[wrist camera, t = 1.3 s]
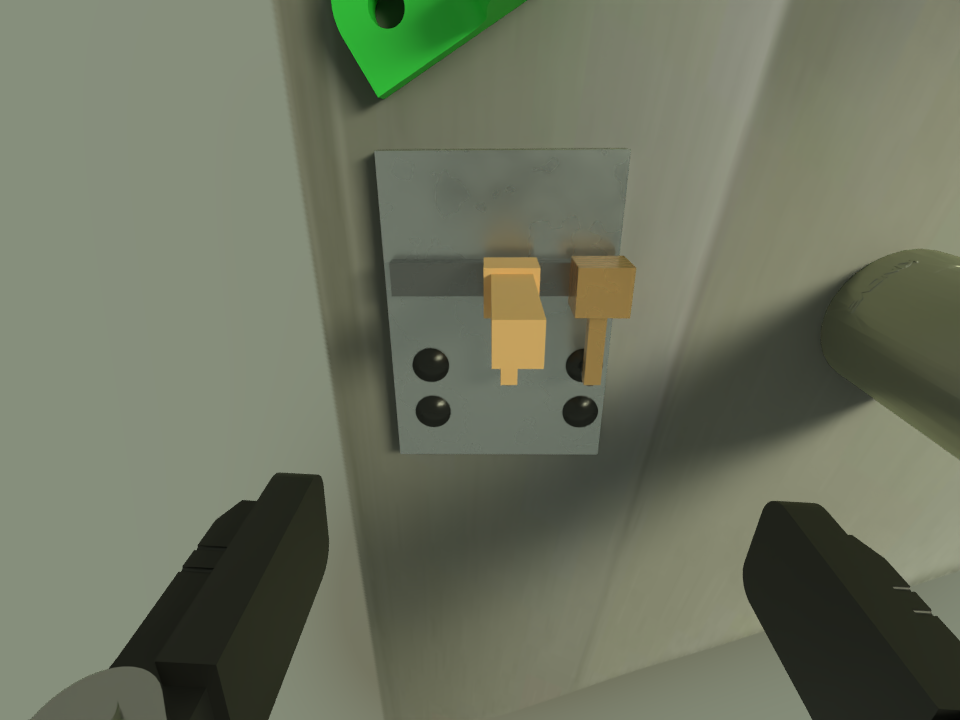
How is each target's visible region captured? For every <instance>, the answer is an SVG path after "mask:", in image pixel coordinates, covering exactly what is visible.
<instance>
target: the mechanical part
mask: <svg viewBox="0 0 960 720" xmlns="http://www.w3.org/2000/svg"><path fill="white" fill-rule="evenodd" d="M378 1H379V0H331V4H332V11H333V15H334V19H335V22H336V25H337V27H338V30H339V32H340V34H341V36H342V38H343V39H344V41H345V43H346V44H347V46H348V48H349V49H350V51H351V53H352V54H353V56H354V58H355V60H356V61H357V63H358V65H359V66H360V68H361V70H362V71H363V73H364V75H365V76H366V78H367V80H368V81H369V83H370V85H371V86H372V88H373V90H374V91H375V93H376V95H377V96H378V98H382V99H385V98H387V97H388V96H390V95H391V94H392V93H394V92H395V91H397V90H398V89H400V88H401V87H403V86H404V85H405V84H407V83H408V82H410V81H411V80H413V79H414V78H416V77H417V76H418V75H420V74H421V73H423V72H424V71H426V70H427V69H429V68H430V67H431V66H433V65H434V64H436V63H437V62H439V61H440V60H442V59H443V58H444V57H446V56H447V55H449V54H450V53H452V52H453V51H455V50H456V49H457V48H459V47H460V46H462V45H463V44H465V43H466V42H468V41H469V40H470V39H472V38H473V37H475V36H476V35H478V34H479V33H481V32H482V31H483V30H485V29H486V28H488V27H489V26H491V25H492V24H494V23H495V22H496V21H498V20H499V19H501V18H502V17H504V16H505V15H507V14H508V13H509V12H511V11H512V10H514V9H515V8H517V7H518V6H520V5H521V4H522V3H524V2H525V1H527V0H404V4H405V12H404V16H403V19H402V21H401V22H400V23H399V24H398V25H397V26H396V27H394V28H391V29H384V28H381V27H379V25H378V23H377V21H376V17H375V9H376V5H377V2H378Z"/></svg>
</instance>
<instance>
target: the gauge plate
mask: <svg viewBox="0 0 960 720" xmlns="http://www.w3.org/2000/svg"><path fill="white" fill-rule="evenodd" d="M630 153H631V149H627V148H587V149H428V150H376V151H374V154H375V165H376V177H377V188H378V200H379V211H380V223H381V234H382V246H383V258H384V269H385V281H386V292H387V304H388V315H389V327H390V339H391V350H392V362H393V373H394V385H395V396H396V408H397V419H398V431H399V443H400V454H590V455H598V446H599V437H600V428H601V419H602V410H603V401H604V391H605V382H606V373H607V364H608V355H609V345H610V336H611V327H612V318H630V314H631V306H632V298H633V289H634V281H635V273H636V267H635V266H634V265H633V264H632V263H631V262H630V261H629V260H628V259H627V258H625V257H624V256H619V254H620V244H621V235H622V226H623V217H624V208H625V198H626V189H627V180H628V171H629V162H630ZM484 257H537V260H538V262H539V265H540V268H541V270H540V292H539V297H540V300H541V303H542V307H543V310H544V314H545V317H546V337H545V357H544V369H518V375H517V385H512V386H505V385H501V382H500V369H492V356H491V318H484V276H483V267H484Z"/></svg>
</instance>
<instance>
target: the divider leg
mask: <svg viewBox="0 0 960 720" xmlns="http://www.w3.org/2000/svg"><path fill="white" fill-rule="evenodd" d="M540 270H541V268H540V265H539V262H538V260H537V257H484V267H483V276H484V318H491V356H492V369H500V382H501V385H505V386H512V385H517V375H518V369H544V357H545V337H546V317H545V314H544V310H543V307H542V303H541V300H540V297H539V292H540Z"/></svg>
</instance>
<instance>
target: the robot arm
mask: <svg viewBox="0 0 960 720" xmlns="http://www.w3.org/2000/svg"><path fill="white" fill-rule="evenodd" d="M821 346H822V351H823V354H824V356H825V358H826V360H827V362H828V363H829V365H830V366H831V367H832V368H833V369H834V370H835V371H836V372H837V373H839V374H840V375H841V376H843V377H844V378H846V379H847V380H848V381H850V382H851V383H853V384H854V385H855V386H857V387H858V388H860V389H861V390H863V391H864V392H865V393H867V394H868V395H870V396H871V397H872V398H874V399H875V400H876V401H878V402H879V403H880V404H882V405H883V406H885V407H886V408H887V409H889V410H890V411H892V412H893V413H894V414H896V415H897V416H899V417H900V418H901V419H903V420H904V421H906V422H907V423H908V424H910V425H911V426H913V427H914V428H915V429H917V430H918V431H920V432H921V433H922V434H924V435H925V436H927V437H928V438H929V439H931V440H932V441H934V442H935V443H936V444H938V445H939V446H941V447H942V448H943V449H945V450H946V451H948V452H949V453H951V454H952V455H953V456H955V457H956V458H958V459H959V460H960V257H958V256H954V255H951V254H947V253H944V252H940V251H936V250H928V249H913V250H904V251H900V252H897V253H893V254H890V255H887V256H885V257H883V258H880V259H878V260H876V261H874V262H872V263H870V264H869V265H867V266H866V267H864V268H863V269H862V270H860V271H859V272H857V273H856V274H855V275H854V276H853V277H852V278H850V279H849V280H848V281H847V282H846V283H845V284H844V285H843V286H842V288H841V289H840V290H839V291H838V293H837V294H836V295H835V297H834V298H833V300H832V301H831V303H830V305H829V307H828V309H827V311H826V313H825V316H824V320H823V323H822V326H821ZM328 551H329V536H328V526H327V516H326V506H325V496H324V486H323V481H322V478H321V476H320V475H313V474H295V473H276V474H275V475H274V476H273V477H272V478H271V480H270V482H269V483H268V485H267V486H266V488H265V489H264V491H263V492H262V494H261V496H260V497H259V499H258V500H257V501H246V500H242V501H241V502H239V503H238V504H236V505H235V506H234V507H233V508H231V509H230V510H228V511H227V512H226V513H225V514H223V515H222V516H221V517H220V518H218V519H217V520H216V521H215V522H214V523H213V524H212V526H211V527H210V529H209V530H208V532H207V533H206V534H205V536H204V537H203V539H202V540H201V541H200V543H199V544H198V548H197V550H194V551H193V553H192V554H191V555H190V557H189V558H188V560H187V561H186V562H185V564H184V565H183V569H182V571H181V572H178V573H177V575H176V576H175V578H174V579H173V581H172V582H171V583H170V585H169V586H168V587H167V589H166V590H165V592H164V593H163V594H162V596H161V597H160V599H159V600H158V601H157V603H156V604H155V606H154V607H153V608H152V610H151V611H150V613H149V614H148V615H147V617H146V619H145V620H144V621H143V623H142V624H141V625H140V627H139V628H138V630H137V631H136V632H135V634H134V635H133V637H132V638H131V639H130V641H129V642H128V644H127V645H126V646H125V648H124V649H123V650H122V652H121V653H120V655H119V656H118V658H117V659H116V660H115V661H114V663H113V664H112V665H111V666H110V668H109V669H107V670H103V671H100V672H97V673H94V674H92V675H89V676H87V677H85V678H83V679H81V680H79V681H77V682H75V683H74V684H72V685H71V686H69V687H67V688H66V689H64V690H63V691H61V692H60V693H59V694H57V695H56V696H55V697H53V698H52V699H51V700H50V701H49V702H48V703H46V704H45V705H44V706H43V707H42V708H41V709H40V710H39V711H38V712H37V713H36V714H35V715H34V716H33V717H32V718H31V719H30V720H268V719H269V716H270V714H271V711H272V708H273V706H274V703H275V701H276V698H277V695H278V693H279V690H280V688H281V685H282V682H283V680H284V677H285V674H286V672H287V669H288V667H289V664H290V661H291V658H292V656H293V654H294V651H295V649H296V646H297V643H298V641H299V638H300V635H301V633H302V630H303V628H304V625H305V622H306V620H307V617H308V615H309V612H310V609H311V607H312V604H313V602H314V599H315V596H316V594H317V591H318V589H319V586H320V583H321V581H322V578H323V575H324V572H325V569H326V564H327V559H328ZM743 583H744V589H745V592H746V595H747V598H748V600H749V603H750V604H751V606H752V608H753V610H754V612H755V614H756V616H757V617H758V619H759V621H760V623H761V625H762V627H763V629H764V630H765V632H766V634H767V636H768V638H769V640H770V642H771V643H772V645H773V647H774V649H775V651H776V653H777V655H778V657H779V658H780V660H781V662H782V664H783V665H784V667H785V670H786V671H787V673H788V675H789V677H790V679H791V681H792V683H793V684H794V686H795V688H796V690H797V691H798V694H799V695H800V697H801V699H802V701H803V703H804V705H805V706H806V708H807V710H808V712H809V714H810V716H811V718H812V720H960V641H959V640H958V639H957V637H956V636H955V635H954V634H953V633H952V632H951V631H950V630H949V629H948V627H946V625H945V624H944V623H943V622H942V621H941V620H940V619H939V618H938V616H933V615H932V613H931V609H930V608H929V607H928V606H927V604H926V603H925V602H924V601H923V600H922V599H921V598H920V597H919V596H918V594H917V593H916V592H911V590H910V586H909V585H908V583H907V582H906V581H905V580H904V579H903V578H902V577H901V576H900V575H899V574H898V572H897V571H896V570H895V569H894V568H893V567H892V566H891V565H890V564H889V563H888V561H887V560H886V559H885V558H883V557H882V556H881V555H879V554H878V553H876V552H875V551H874V550H872V549H871V548H869V547H868V546H867V545H865V544H864V543H862V542H861V541H860V540H858V539H857V538H855V537H854V536H853V535H847V534H846V532H845V531H844V530H843V529H842V528H841V527H840V526H839V524H838V523H837V522H836V521H835V520H834V519H833V518H832V516H831V515H830V514H829V513H828V512H827V511H826V510H825V509H824V508H823V507H822V506H821V505H819V504H816V503H803V502H784V501H770V502H768V503H767V504H766V505H765V507H764V509H763V511H762V514H761V516H760V519H759V522H758V525H757V528H756V531H755V534H754V536H753V539H752V542H751V545H750V548H749V551H748V554H747V557H746V559H745V562H744V567H743Z"/></svg>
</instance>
